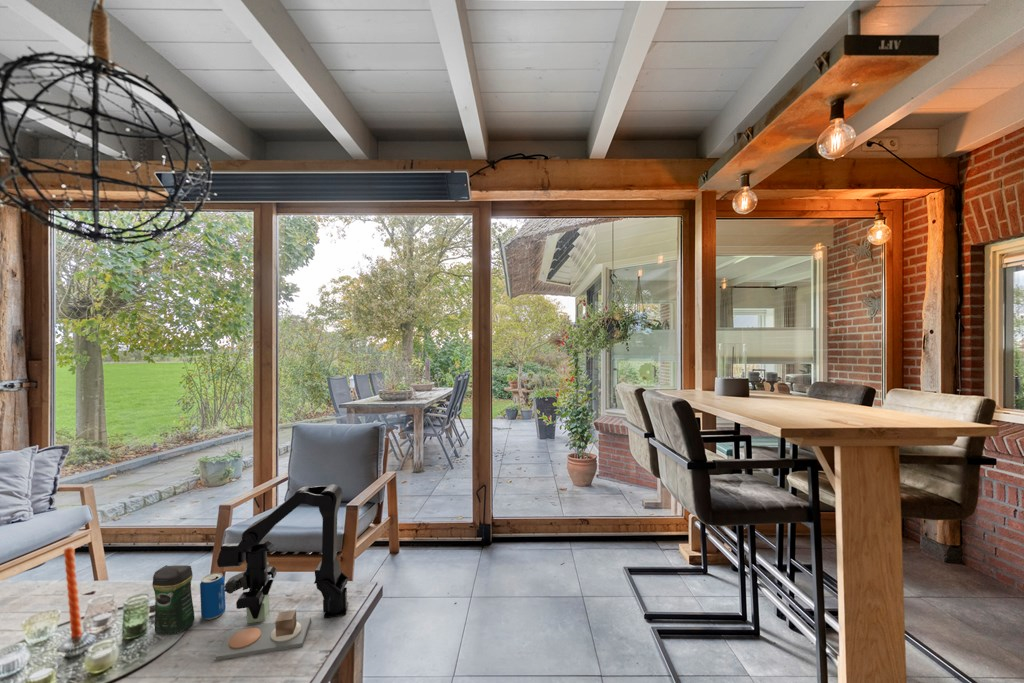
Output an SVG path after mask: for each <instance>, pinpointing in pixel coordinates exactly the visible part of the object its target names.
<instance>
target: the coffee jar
mask: <svg viewBox="0 0 1024 683" xmlns="http://www.w3.org/2000/svg"><path fill="white" fill-rule="evenodd" d="M193 576H194V575H193V570H192V566H191V565H187V564H186V565H163V566H162V567H160V568H158V569H157V570H156V571H155V572H154V573H153V576H152V583H151V584H152V589H153V591H154V598H155V599H154V600H155V602H154V606H155V607H154V608H155V610H154V612H155V613H154V632H155V633H156V634H158V635H175V634H179V633H181V632H183V631H185V630H186V629H187V630H188V628H189V627H190V626H191V625H193V623H194V621H195V620H196V619H195V609H194V603H193V596H192V594H193V593H192V580H193Z"/></svg>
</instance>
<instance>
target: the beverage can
mask: <svg viewBox="0 0 1024 683" xmlns="http://www.w3.org/2000/svg"><path fill="white" fill-rule="evenodd" d="M199 583H200V584H199V589H200V590H199V593H200V616H201V619H205V620H214V619H216V618H218V617H220V616H221V615H222V614H223V613H225V611H226V592H225V584H226V583H225V576H224V575H223V573H221V572H211V573H210V574H207V575H205V576H203V577H202V578H201V582H199Z"/></svg>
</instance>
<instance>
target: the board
mask: <svg viewBox="0 0 1024 683" xmlns="http://www.w3.org/2000/svg"><path fill="white" fill-rule="evenodd" d="M311 621H312V618H311V616H309V617H301V618H296V623H297V625H296V627H295V630H294V632H293V634H291V635H285V636H278V637H276V626H275V621H274V622H270V623H268V622H267V623H262V624H256V625H249V626H241V627H234V628H231V630H230V631H229V632H228V635H227V636H226V638H225V639H224V641H223V643H222V645H221V646H220V648H219V650H218V651H217V653H216V655H215V657H214V658H215V659H214V661H221V660H226V659H227V660H228V659H232V658H239V657H244V656H251V655H252V656H253V655H257V654H263V653H271V652H277V651H282V650H288V649H294V648H300V647H303V646H304V641H305V640H306V636H307V634H308V630H309V627H310V624H311Z"/></svg>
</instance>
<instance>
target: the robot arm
mask: <svg viewBox="0 0 1024 683" xmlns="http://www.w3.org/2000/svg"><path fill="white" fill-rule="evenodd" d="M342 496H343V488H342V487H341V486H339V485H337V484H334V483H332V484H329V485H317V486H302V487H300V488H299V489H297V491H296V492H294V494H292V496H290V497H289V498H288V499H286V500H285V501H284V502H283V503H282V504H280V505H279V506H278V507H277V508H276V509H274V510H273V511H272V512H271V513H269V514H268V515H265V516H263V517H261V518H259V519H257V520H256V521H255V522H253V523H252V524H251V525H250V526H249V527H247V528H246V529H245V530H244V531H243V532H242V534H241V540H240V542H239V543H237V542H236V543H229V542H225V543H224V544H222V545H221V546H220V551H219V553H218V557H217V559H216V564H217V567H218V568H229V567H230V568H233V567H241V566H242V564H244V563H245V567H246V568H245V571H242V572H239V573H238V574H236V575H233V576H231V577H230V578H228V580H227V581H226V583H225V593H226V594H229V595H231V594H233V593H234V592H236V591H239V590H240V589H242V590H248V591H244V592H242V593H241V594H240V596H239V597H238V598H237V600H236V603H235V604H236V605H235V606H236V607H235V608H236V609H237V610H240V609H247V608H249V610H250V612H251V614H252V617H253V619H257V618H258V615H259V613H260V610H261V607H262V604H263V601H264V598H265V596H263V595H268V594H269V592H270V591H271V587H272V585H273V584H274V583H273V582H274V579H275V578H276V576H277V568H276V567H274V566H270V562H269V561H268V556H267V555H268V552H270V550H271V549H272V548H273V547H274V546H275V544H274V543H273V542H270V540H268V539H267V540H266V541H264V542H262V541H263V539H265V538H266V537H267V536H268V534H269V533H270V532H271V531H272V530H273V528H274V527H276V525H277V524H279V523H280V522H281V521H282V520H283V519H285V518H286V517H287V516H288V515H290V514H291V513H292V512H293V511H294V510H296V509H297V508H298V507H299V506H300V505H301V504H306V505H307V506H312V507H318V510H319V513H320V515H321V517H322V518H321V519H322V532H321V537H322V538H321V561H319V563H318V565H317V566H316V568H315V570H314V577H315V580H314V582H313V584H314V585H315V586H316V589H317V590H319V591H320V593H321V595H322V597H323V599H322V609H323V610H322V611H323V612H322V613H323V614H324V615H323V618H324V619H327V618H333V617H340V616H345V615H347V612H348V607H349V601H348V588H347V587H346V585H347V584H348V581H349V577H348V576H347V575H346V574H345V573H344V572H342V570H341V569H342V568H341V565H340V561H339V559H338V554H337V553H338V550H337V549H338V548H337V547H338V546H337V545H338V512H339V511H340V510H339V509H340V506H341V503H342V498H343V497H342ZM270 576H271V579H270Z"/></svg>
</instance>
